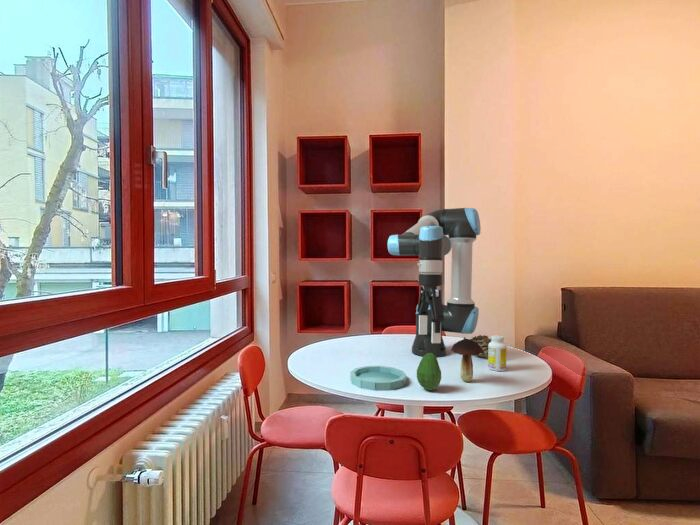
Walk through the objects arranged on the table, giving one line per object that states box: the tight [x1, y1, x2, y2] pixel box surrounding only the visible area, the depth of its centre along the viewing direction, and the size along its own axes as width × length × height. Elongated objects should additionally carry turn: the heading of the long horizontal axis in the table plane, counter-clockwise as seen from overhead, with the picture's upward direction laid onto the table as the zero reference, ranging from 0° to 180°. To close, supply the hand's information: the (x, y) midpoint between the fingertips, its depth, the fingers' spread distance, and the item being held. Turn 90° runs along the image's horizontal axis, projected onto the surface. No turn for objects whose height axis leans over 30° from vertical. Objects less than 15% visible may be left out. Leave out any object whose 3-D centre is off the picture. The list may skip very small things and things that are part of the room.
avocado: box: [416, 353, 442, 391], centre depth 127 cm, size 8×8×12 cm
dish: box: [349, 365, 407, 391], centre depth 135 cm, size 19×19×2 cm
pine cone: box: [463, 334, 492, 358], centre depth 171 cm, size 22×10×10 cm, turn 19°
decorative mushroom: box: [450, 338, 483, 383], centre depth 135 cm, size 11×11×15 cm
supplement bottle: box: [487, 335, 508, 372], centre depth 150 cm, size 7×7×13 cm
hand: (429, 338), depth 126 cm, fingers open, 13 cm apart
